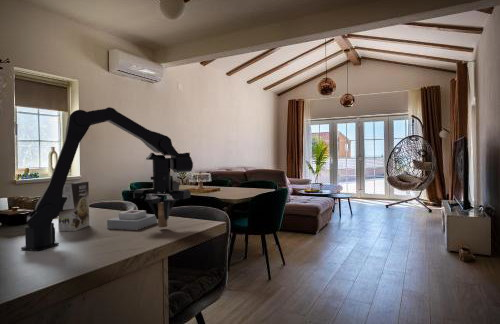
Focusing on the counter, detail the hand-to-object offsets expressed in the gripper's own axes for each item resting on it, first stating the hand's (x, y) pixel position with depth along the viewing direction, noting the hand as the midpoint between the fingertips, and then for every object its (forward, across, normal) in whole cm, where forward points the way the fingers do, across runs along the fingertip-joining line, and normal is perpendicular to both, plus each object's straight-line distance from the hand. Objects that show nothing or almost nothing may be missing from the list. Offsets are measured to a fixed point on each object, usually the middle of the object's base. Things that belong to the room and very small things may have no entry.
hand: (162, 219), depth 110 cm
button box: (+3, +14, -3) cm, 15 cm away
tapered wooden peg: (+2, 0, 0) cm, 2 cm away
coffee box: (+4, +32, +5) cm, 33 cm away
